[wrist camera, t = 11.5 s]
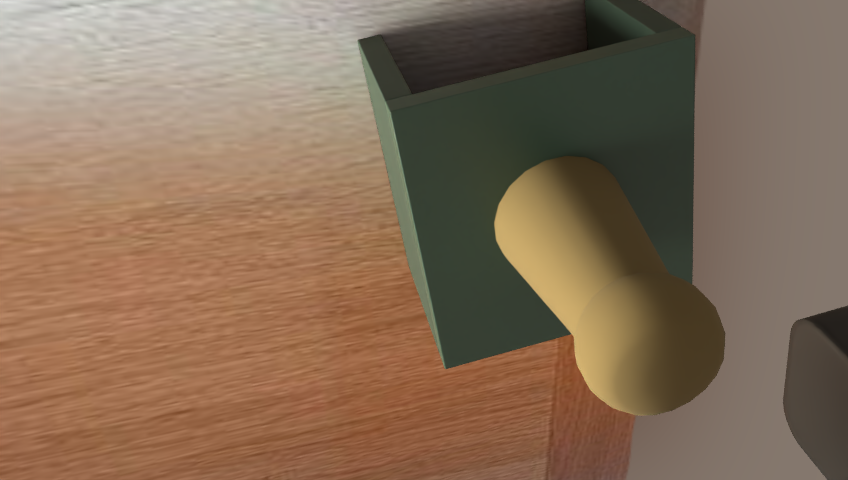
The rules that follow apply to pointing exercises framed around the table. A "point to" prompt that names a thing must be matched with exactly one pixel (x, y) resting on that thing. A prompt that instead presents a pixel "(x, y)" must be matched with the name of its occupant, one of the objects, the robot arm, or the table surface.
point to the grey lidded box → (534, 164)
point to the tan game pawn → (609, 287)
